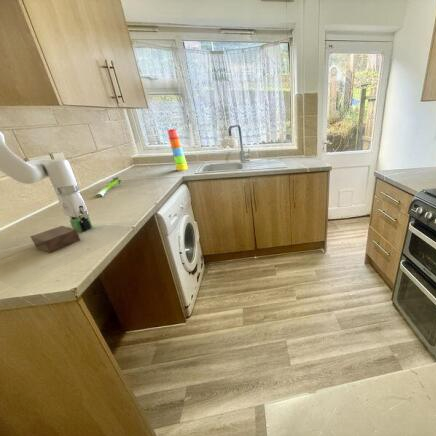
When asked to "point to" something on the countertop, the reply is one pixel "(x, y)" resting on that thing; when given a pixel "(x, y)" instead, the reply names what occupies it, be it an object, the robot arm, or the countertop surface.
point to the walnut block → (55, 238)
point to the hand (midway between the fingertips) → (83, 228)
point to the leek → (108, 186)
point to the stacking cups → (177, 150)
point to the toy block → (78, 224)
